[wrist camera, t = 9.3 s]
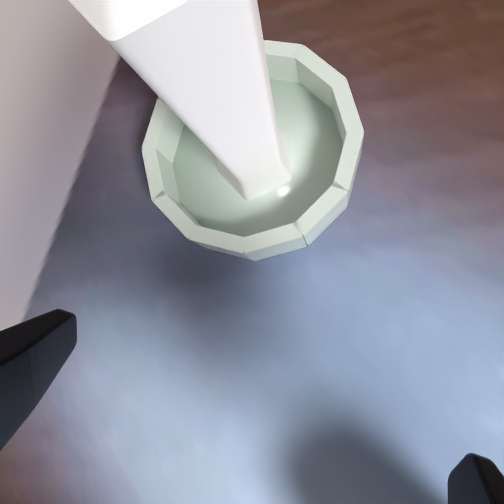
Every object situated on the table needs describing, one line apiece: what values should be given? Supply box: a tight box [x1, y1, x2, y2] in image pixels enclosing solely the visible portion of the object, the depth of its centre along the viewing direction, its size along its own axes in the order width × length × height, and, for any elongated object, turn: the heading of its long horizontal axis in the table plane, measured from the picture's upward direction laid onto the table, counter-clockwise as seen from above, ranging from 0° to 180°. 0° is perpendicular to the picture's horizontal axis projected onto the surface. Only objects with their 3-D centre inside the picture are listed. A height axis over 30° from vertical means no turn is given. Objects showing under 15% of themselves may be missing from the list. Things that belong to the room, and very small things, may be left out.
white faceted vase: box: [69, 0, 292, 201], centre depth 12 cm, size 5×4×15 cm
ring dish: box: [142, 40, 364, 261], centre depth 19 cm, size 10×10×2 cm
